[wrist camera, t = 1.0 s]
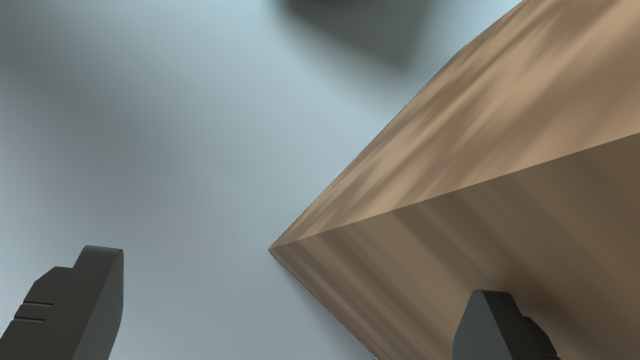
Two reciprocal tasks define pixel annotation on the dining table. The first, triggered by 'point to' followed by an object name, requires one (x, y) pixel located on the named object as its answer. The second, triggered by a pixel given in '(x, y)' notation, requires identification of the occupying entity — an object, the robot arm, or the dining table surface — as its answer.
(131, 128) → the dining table surface
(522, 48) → the walnut stand
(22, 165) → the dining table surface
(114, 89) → the dining table surface
